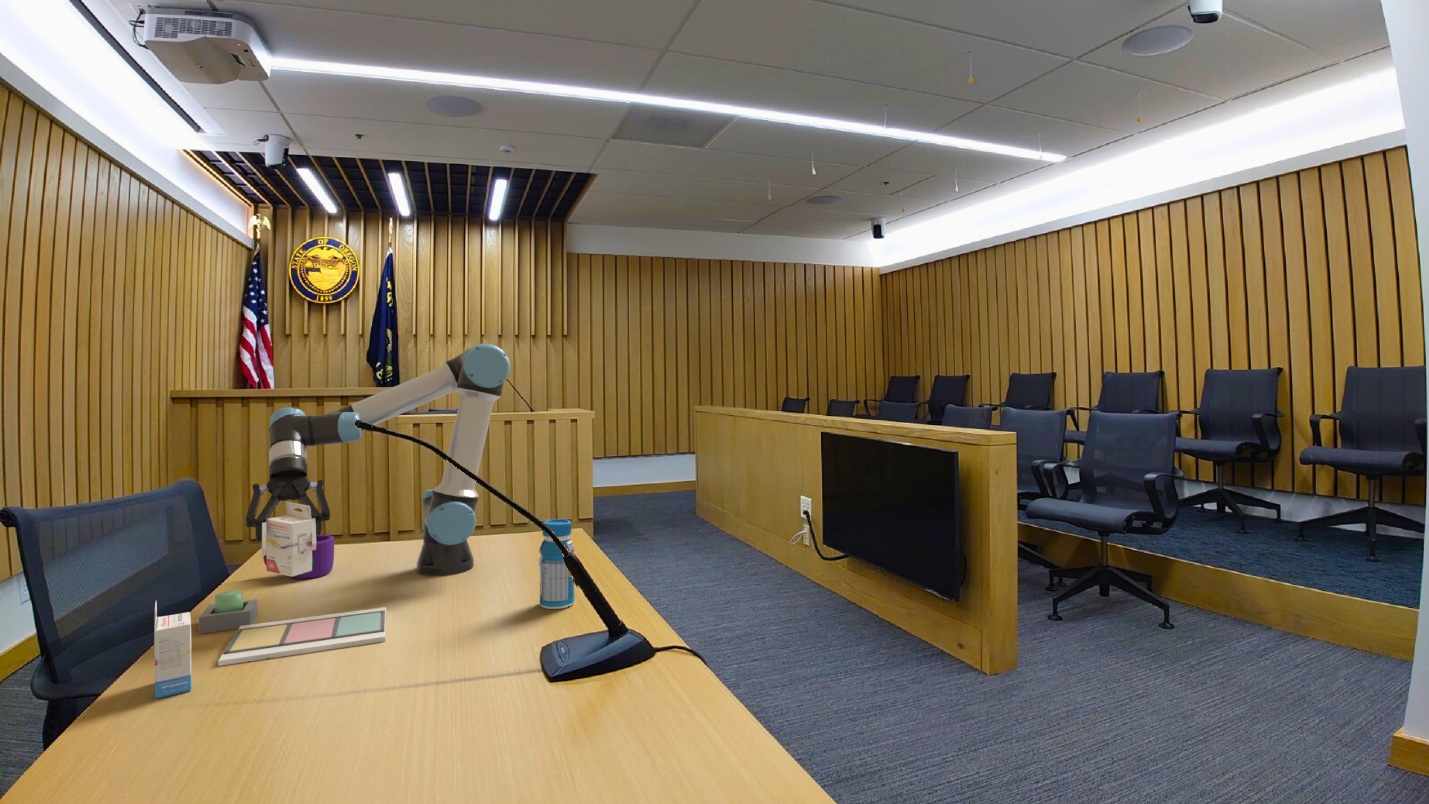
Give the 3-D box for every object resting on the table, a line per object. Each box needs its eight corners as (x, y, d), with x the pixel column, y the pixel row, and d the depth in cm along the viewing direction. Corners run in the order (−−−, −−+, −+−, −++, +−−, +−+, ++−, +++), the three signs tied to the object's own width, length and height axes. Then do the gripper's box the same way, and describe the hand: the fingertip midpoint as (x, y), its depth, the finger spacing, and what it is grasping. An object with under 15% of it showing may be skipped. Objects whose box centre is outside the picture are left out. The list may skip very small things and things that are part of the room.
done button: (245, 610, 150) (245, 589, 150) (240, 617, 146) (240, 595, 145) (218, 613, 148) (218, 592, 148) (212, 620, 143) (212, 598, 143)
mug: (340, 568, 191) (339, 533, 191) (326, 579, 180) (325, 542, 180) (272, 571, 188) (272, 536, 187) (254, 583, 177) (253, 545, 176)
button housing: (257, 614, 153) (257, 599, 153) (250, 627, 145) (250, 611, 145) (209, 620, 149) (209, 604, 149) (199, 633, 141) (198, 617, 141)
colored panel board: (386, 611, 155) (386, 605, 155) (385, 641, 137) (385, 635, 137) (240, 630, 143) (240, 624, 143) (218, 666, 125) (218, 659, 125)
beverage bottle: (549, 612, 154) (549, 526, 154) (532, 603, 160) (532, 521, 160) (581, 605, 160) (581, 522, 159) (564, 596, 166) (564, 516, 165)
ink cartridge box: (264, 571, 146) (264, 505, 145) (286, 565, 150) (286, 501, 150) (291, 577, 143) (291, 509, 142) (313, 571, 147) (313, 505, 146)
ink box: (192, 691, 114) (191, 606, 114) (154, 700, 111) (153, 612, 111) (191, 674, 121) (190, 594, 121) (155, 682, 118) (153, 599, 118)
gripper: (339, 471, 164) (344, 552, 152) (233, 477, 153) (229, 565, 140) (341, 453, 159) (346, 534, 147) (231, 457, 148) (227, 546, 135)
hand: (289, 549), depth 143 cm, fingers closed on ink cartridge box, 8 cm apart
